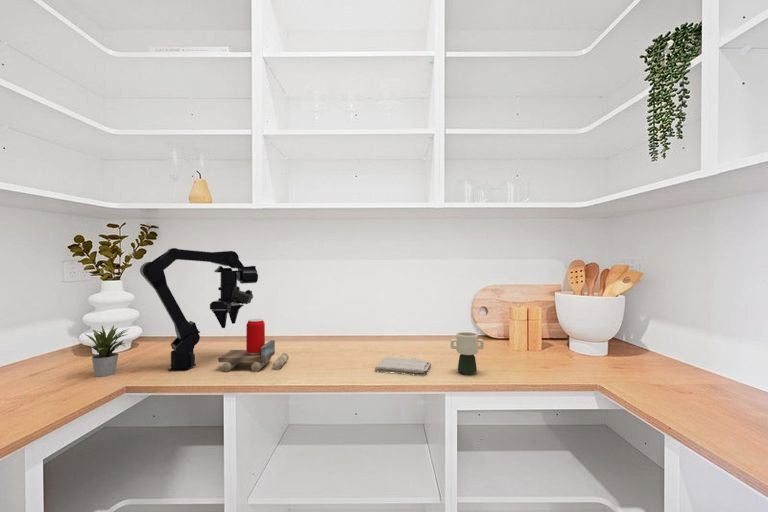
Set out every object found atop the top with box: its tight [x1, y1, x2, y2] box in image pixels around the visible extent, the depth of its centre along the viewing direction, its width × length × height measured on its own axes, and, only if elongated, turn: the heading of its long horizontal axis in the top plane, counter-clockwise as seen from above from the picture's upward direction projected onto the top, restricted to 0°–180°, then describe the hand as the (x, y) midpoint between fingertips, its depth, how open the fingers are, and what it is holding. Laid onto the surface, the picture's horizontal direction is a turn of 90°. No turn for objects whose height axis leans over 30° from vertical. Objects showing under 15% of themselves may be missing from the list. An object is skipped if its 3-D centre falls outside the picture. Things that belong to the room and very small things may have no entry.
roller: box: [272, 353, 290, 370], centre depth 132 cm, size 3×10×3 cm, turn 1°
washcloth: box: [374, 356, 432, 377], centre depth 127 cm, size 12×18×3 cm, turn 74°
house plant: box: [82, 324, 129, 378], centre depth 122 cm, size 14×14×16 cm
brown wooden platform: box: [217, 339, 276, 373], centre depth 131 cm, size 16×13×8 cm
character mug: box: [450, 331, 485, 375], centre depth 123 cm, size 11×7×13 cm, turn 87°
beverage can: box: [245, 318, 266, 355], centre depth 131 cm, size 6×6×12 cm
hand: (228, 325), depth 139 cm, fingers open, 9 cm apart
